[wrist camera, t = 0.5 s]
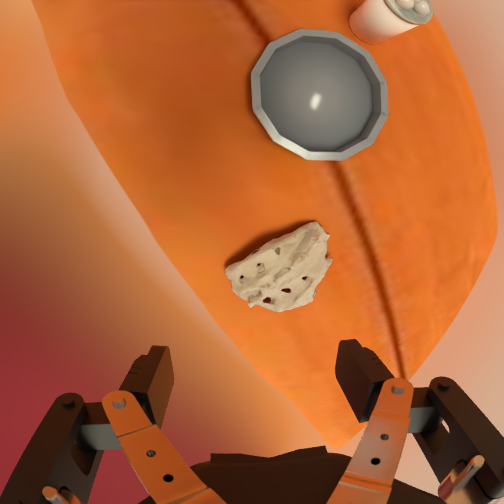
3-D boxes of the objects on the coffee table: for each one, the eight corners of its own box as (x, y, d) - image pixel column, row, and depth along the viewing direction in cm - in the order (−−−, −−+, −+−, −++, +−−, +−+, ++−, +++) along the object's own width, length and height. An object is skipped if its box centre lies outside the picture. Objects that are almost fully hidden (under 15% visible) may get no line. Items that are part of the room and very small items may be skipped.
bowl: (226, 74, 30) (223, 68, 27) (334, 21, 26) (341, 13, 23) (296, 179, 36) (300, 184, 33) (395, 124, 32) (408, 125, 29)
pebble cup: (339, 15, 26) (378, -26, 13) (372, 5, 24) (418, -30, 12) (364, 50, 28) (415, 23, 15) (395, 39, 26) (450, 15, 14)
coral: (320, 216, 38) (330, 230, 34) (334, 285, 44) (343, 304, 39) (217, 245, 40) (213, 262, 36) (244, 309, 46) (243, 330, 41)
